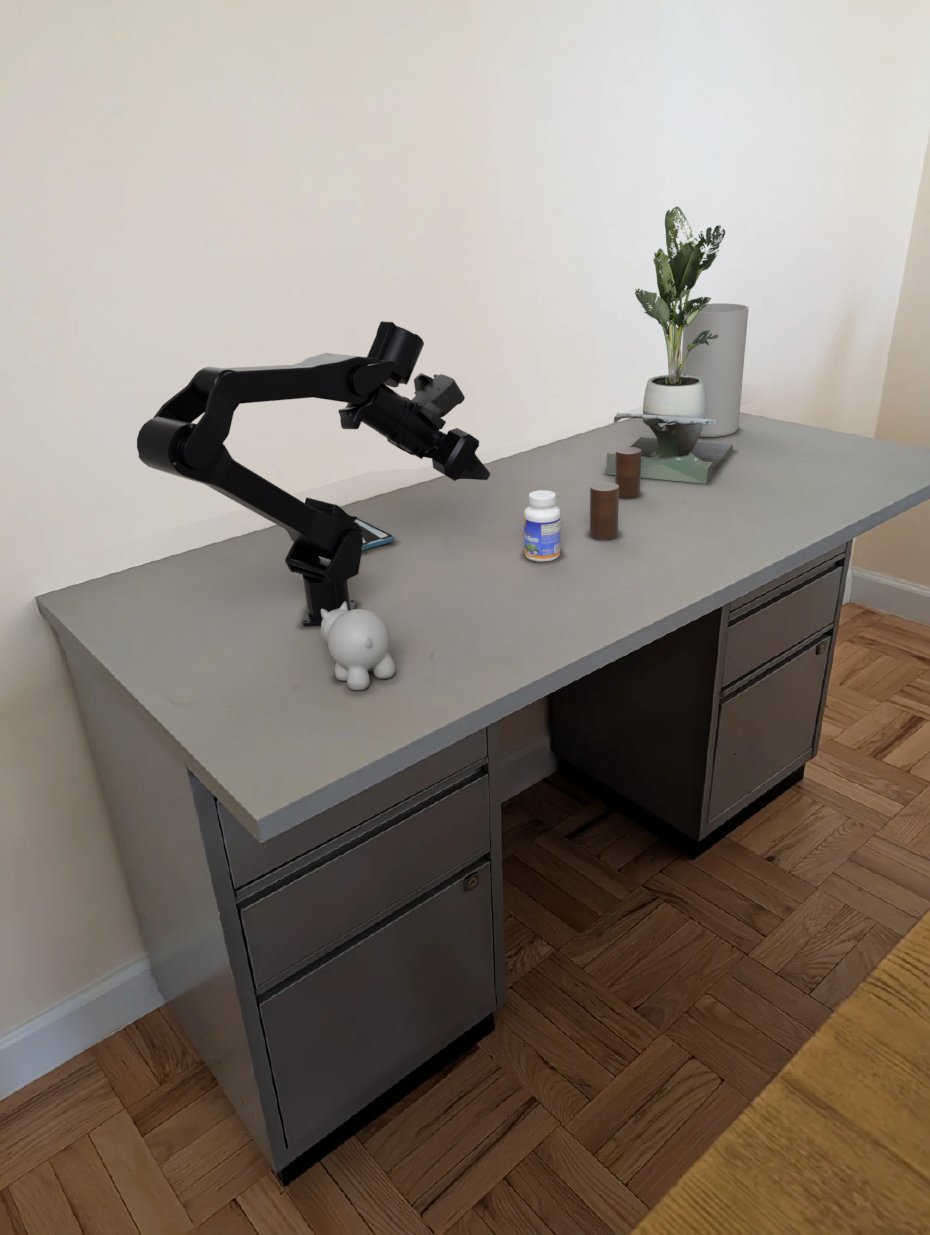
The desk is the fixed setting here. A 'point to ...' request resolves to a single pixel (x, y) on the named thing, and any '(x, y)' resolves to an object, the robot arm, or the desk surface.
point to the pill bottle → (542, 527)
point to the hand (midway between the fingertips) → (471, 467)
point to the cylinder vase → (718, 363)
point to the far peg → (628, 471)
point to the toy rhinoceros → (357, 645)
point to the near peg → (604, 510)
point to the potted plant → (677, 369)
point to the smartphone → (373, 535)
